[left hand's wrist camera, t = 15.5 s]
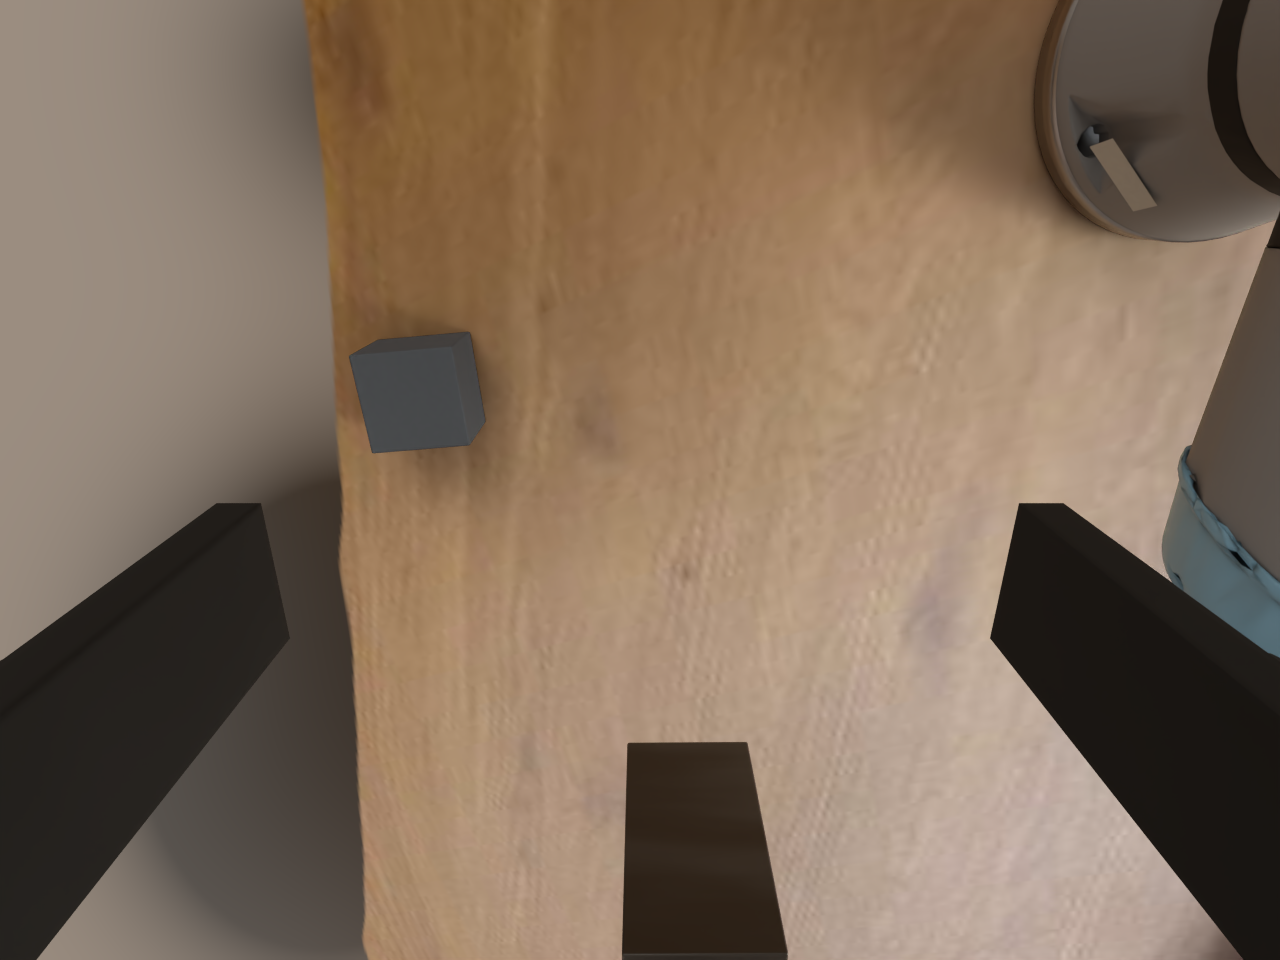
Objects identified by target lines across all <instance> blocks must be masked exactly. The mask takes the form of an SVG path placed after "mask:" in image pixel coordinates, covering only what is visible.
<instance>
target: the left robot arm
mask: <svg viewBox="0 0 1280 960" xmlns="http://www.w3.org/2000/svg"><path fill="white" fill-rule="evenodd" d="M1034 110H1035V124H1036V130H1037V136H1038V142H1039V145H1040V149H1041V153H1042V156H1043V159H1044V161H1045V164H1046V166H1047V169H1048V171H1049V173H1050V175H1051V177H1052V179H1053V181H1054V182H1055V184H1056V186H1057V187H1058V189H1059V190H1060V191H1061V193H1062V194H1063V196H1064V197H1065V198H1066V199H1067V200H1068V201H1069V203H1070V204H1071V205H1072V206H1073V207H1074V208H1075V209H1076V210H1078V211H1079V212H1080V213H1081V214H1082V215H1083V216H1085V217H1086V218H1088V219H1089V220H1091V221H1092V222H1094V223H1095V224H1097V225H1099V226H1101V227H1103V228H1105V229H1107V230H1109V231H1112V232H1114V233H1117V234H1120V235H1124V236H1128V237H1132V238H1138V239H1146V240H1155V241H1166V242H1198V241H1207V240H1212V239H1218V238H1222V237H1226V236H1230V235H1233V234H1237V233H1240V232H1242V231H1245V230H1248V229H1251V228H1254V227H1256V226H1259V225H1262V224H1265V223H1268V222H1271V221H1274V220H1276V223H1275V226H1274V228H1273V231H1272V234H1271V237H1270V239H1269V242H1268V244H1267V247H1266V248H1265V250H1264V253H1263V255H1262V258H1261V261H1260V263H1259V266H1258V269H1257V272H1256V274H1255V277H1254V280H1253V282H1252V285H1251V288H1250V290H1249V293H1248V296H1247V298H1246V301H1245V304H1244V306H1243V309H1242V312H1241V315H1240V317H1239V320H1238V323H1237V325H1236V328H1235V331H1234V333H1233V336H1232V339H1231V341H1230V344H1229V347H1228V349H1227V352H1226V355H1225V358H1224V360H1223V363H1222V366H1221V368H1220V371H1219V374H1218V376H1217V379H1216V382H1215V384H1214V387H1213V390H1212V392H1211V395H1210V398H1209V401H1208V403H1207V406H1206V409H1205V411H1204V414H1203V417H1202V419H1201V422H1200V425H1199V427H1198V430H1197V433H1196V435H1195V438H1194V441H1193V444H1192V445H1190V446H1187V447H1186V448H1185V450H1184V451H1183V453H1182V455H1181V457H1180V460H1179V465H1178V475H1179V483H1178V486H1177V490H1176V493H1175V497H1174V500H1173V503H1172V507H1171V510H1170V514H1169V517H1168V520H1167V524H1166V527H1165V531H1164V534H1163V539H1162V556H1163V562H1164V565H1165V569H1166V572H1167V574H1168V576H1169V578H1170V579H1171V581H1172V582H1170V581H1169V580H1168V579H1166V578H1165V577H1163V576H1162V575H1161V574H1159V573H1158V572H1157V571H1155V570H1154V569H1153V568H1151V567H1150V566H1148V565H1147V564H1146V563H1144V562H1143V561H1142V560H1140V559H1139V558H1137V557H1136V556H1135V555H1133V554H1132V553H1131V552H1129V551H1128V550H1127V549H1125V548H1124V547H1122V546H1121V545H1120V544H1118V543H1117V542H1116V541H1114V540H1113V539H1111V538H1110V537H1109V536H1107V535H1106V534H1105V533H1103V532H1102V531H1101V530H1099V529H1098V528H1096V527H1095V526H1094V525H1092V524H1091V523H1090V522H1088V521H1087V520H1085V519H1084V518H1083V517H1081V516H1080V515H1079V514H1077V513H1076V512H1075V511H1073V510H1072V509H1070V508H1069V507H1068V506H1066V505H1065V504H1064V503H1019V506H1018V511H1017V516H1016V520H1015V525H1014V530H1013V534H1012V539H1011V544H1010V548H1009V553H1008V557H1007V562H1006V567H1005V571H1004V576H1003V581H1002V585H1001V590H1000V595H999V599H998V604H997V609H996V613H995V618H994V623H993V627H992V632H991V637H990V639H991V640H992V641H993V642H994V644H995V645H996V646H997V647H998V649H999V650H1000V651H1001V653H1002V654H1003V655H1004V656H1005V658H1006V659H1007V660H1008V661H1009V663H1010V664H1011V665H1012V666H1013V668H1014V669H1015V670H1016V672H1017V673H1018V674H1019V675H1020V677H1021V678H1022V679H1023V680H1024V682H1025V683H1026V684H1027V686H1028V687H1029V688H1030V689H1031V691H1032V692H1033V693H1034V694H1035V696H1036V697H1037V698H1038V699H1039V701H1040V702H1041V703H1042V705H1043V706H1044V707H1045V708H1046V710H1047V711H1048V712H1049V713H1050V715H1051V716H1052V717H1053V718H1054V720H1055V721H1056V722H1057V724H1058V725H1059V726H1060V727H1061V729H1062V730H1063V731H1064V732H1065V734H1066V735H1067V736H1068V738H1069V739H1070V740H1071V741H1072V743H1073V744H1074V745H1075V746H1076V748H1077V749H1078V750H1079V751H1080V753H1081V754H1082V755H1083V757H1084V758H1085V759H1086V760H1087V762H1088V763H1089V764H1090V765H1091V767H1092V768H1093V769H1094V771H1095V772H1096V773H1097V774H1098V776H1099V777H1100V778H1101V779H1102V781H1103V782H1104V783H1105V784H1106V786H1107V787H1108V788H1109V790H1110V791H1111V792H1112V793H1113V795H1114V796H1115V797H1116V798H1117V800H1118V801H1119V802H1120V803H1121V805H1122V806H1123V807H1124V809H1125V810H1126V811H1127V812H1128V814H1129V815H1130V816H1131V817H1132V819H1133V820H1134V821H1135V823H1136V824H1137V825H1138V826H1139V828H1140V829H1141V830H1142V831H1143V833H1144V834H1145V835H1146V836H1147V838H1148V839H1149V840H1150V842H1151V843H1152V844H1153V845H1154V847H1155V848H1156V849H1157V850H1158V852H1159V853H1160V854H1161V855H1162V857H1163V858H1164V859H1165V861H1166V862H1167V863H1168V864H1169V866H1170V867H1171V868H1172V869H1173V871H1174V872H1175V873H1176V875H1177V876H1178V877H1179V878H1180V880H1181V881H1182V882H1183V883H1184V885H1185V886H1186V887H1187V888H1188V890H1189V891H1190V892H1191V894H1192V895H1193V896H1194V897H1195V899H1196V900H1197V901H1198V902H1199V904H1200V905H1201V906H1202V908H1203V909H1204V910H1205V911H1206V913H1207V914H1208V915H1209V916H1210V918H1211V919H1212V920H1213V921H1214V923H1215V924H1216V925H1217V927H1218V928H1219V929H1220V930H1221V932H1222V933H1223V934H1224V935H1225V937H1226V938H1227V939H1228V940H1229V942H1230V943H1231V944H1232V946H1233V947H1234V948H1235V949H1236V951H1237V952H1238V953H1239V954H1240V956H1241V957H1242V958H1243V960H1280V0H1059V3H1058V5H1057V7H1056V9H1055V11H1054V14H1053V16H1052V18H1051V21H1050V24H1049V27H1048V29H1047V32H1046V35H1045V38H1044V42H1043V46H1042V49H1041V53H1040V58H1039V63H1038V68H1037V74H1036V83H1035V102H1034ZM289 639H290V637H289V632H288V628H287V623H286V618H285V613H284V609H283V604H282V599H281V595H280V590H279V586H278V581H277V576H276V571H275V567H274V562H273V557H272V553H271V548H270V544H269V539H268V534H267V530H266V525H265V520H264V516H263V511H262V506H261V503H217V504H215V505H214V506H212V507H211V508H210V509H208V510H207V511H205V512H204V513H203V514H201V515H200V516H199V517H197V518H196V519H195V520H193V521H192V522H190V523H189V524H188V525H186V526H185V527H184V528H182V529H181V530H179V531H178V532H177V533H175V534H174V535H173V536H171V537H170V538H169V539H167V540H166V541H164V542H163V543H162V544H160V545H159V546H158V547H156V548H155V549H154V550H152V551H151V552H149V553H148V554H147V555H145V556H144V557H143V558H141V559H140V560H138V561H137V562H136V563H134V564H133V565H132V566H130V567H129V568H128V569H126V570H125V571H123V572H122V573H121V574H119V575H118V576H117V577H115V578H114V579H112V580H111V581H110V582H108V583H107V584H106V585H104V586H103V587H102V588H100V589H99V590H97V591H96V592H95V593H93V594H92V595H91V596H89V597H88V598H87V599H85V600H84V601H82V602H81V603H80V604H78V605H77V606H75V607H74V608H73V609H71V610H70V611H69V612H67V613H66V614H65V615H63V616H62V617H60V618H59V619H58V620H56V621H55V622H54V623H52V624H51V625H49V626H48V627H47V628H45V629H44V630H43V631H41V632H40V633H39V634H37V635H36V636H34V637H33V638H32V639H30V640H29V641H28V642H26V643H25V644H23V645H22V646H21V647H19V648H18V649H17V650H15V651H14V652H13V653H11V654H10V655H8V656H7V657H6V658H4V659H3V660H1V661H0V960H37V958H38V957H39V956H40V954H41V953H42V952H43V951H44V949H45V948H46V947H47V946H48V944H49V943H50V942H51V940H52V939H53V938H54V937H55V935H56V934H57V933H58V932H59V930H60V929H61V928H62V927H63V925H64V924H65V923H66V921H67V920H68V919H69V918H70V916H71V915H72V914H73V912H74V911H75V910H76V909H77V907H78V906H79V905H80V904H81V902H82V901H83V900H84V899H85V897H86V896H87V895H88V894H89V892H90V891H91V890H92V888H93V887H94V886H95V885H96V883H97V882H98V881H99V880H100V878H101V877H102V876H103V875H104V873H105V872H106V871H107V869H108V868H109V867H110V866H111V864H112V863H113V862H114V861H115V859H116V858H117V857H118V855H119V854H120V853H121V852H122V850H123V849H124V848H125V847H126V845H127V844H128V843H129V842H130V840H131V839H132V838H133V836H134V835H135V834H136V833H137V831H138V830H139V829H140V828H141V826H142V825H143V824H144V822H145V821H146V820H147V819H148V817H149V816H150V815H151V814H152V812H153V811H154V810H155V809H156V807H157V806H158V805H159V803H160V802H161V801H162V800H163V798H164V797H165V796H166V795H167V793H168V792H169V791H170V790H171V788H172V787H173V786H174V784H175V783H176V782H177V781H178V779H179V778H180V777H181V776H182V774H183V773H184V772H185V770H186V769H187V768H188V767H189V765H190V764H191V763H192V762H193V760H194V759H195V758H196V756H197V755H198V754H199V753H200V751H201V750H202V749H203V748H204V746H205V745H206V744H207V743H208V741H209V740H210V739H211V737H212V736H213V735H214V734H215V732H216V731H217V730H218V729H219V727H220V726H221V725H222V724H223V722H224V721H225V720H226V718H227V717H228V716H229V715H230V713H231V712H232V711H233V710H234V708H235V707H236V706H237V704H238V703H239V702H240V701H241V699H242V698H243V697H244V696H245V694H246V693H247V692H248V691H249V689H250V688H251V687H252V685H253V684H254V683H255V682H256V680H257V679H258V678H259V677H260V675H261V674H262V673H263V672H264V670H265V669H266V668H267V666H268V665H269V664H270V663H271V661H272V660H273V659H274V658H275V656H276V655H277V654H278V653H279V651H280V650H281V649H282V647H283V646H284V645H285V644H286V642H287V641H288V640H289Z"/></svg>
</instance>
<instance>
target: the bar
mask: <svg viewBox="0 0 1280 960" xmlns="http://www.w3.org/2000/svg"><path fill="white" fill-rule="evenodd" d="M622 960H788V950H787V945H786V940H785V935H784V930H783V925H782V919H781V914H780V909H779V904H778V899H777V893H776V888H775V883H774V878H773V873H772V868H771V862H770V857H769V852H768V847H767V842H766V836H765V831H764V826H763V821H762V816H761V811H760V805H759V800H758V795H757V790H756V785H755V780H754V774H753V769H752V764H751V759H750V754H749V748H748V744H747V742H683V743H628V744H627V781H626V819H625V858H624V896H623V935H622Z"/></svg>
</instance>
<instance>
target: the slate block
mask: <svg viewBox="0 0 1280 960" xmlns="http://www.w3.org/2000/svg"><path fill="white" fill-rule="evenodd" d="M349 359H350V363H351V367H352V371H353V375H354V379H355V384H356V388H357V392H358V396H359V400H360V404H361V409H362V413H363V417H364V421H365V425H366V429H367V434H368V438H369V442H370V446H371V450H372V453H383V452H395V451H407V450H419V449H431V448H443V447H455V446H467V445H470V444H471V442H472V441H473V439H474V438H475V436H476V435H477V433H478V432H479V430H480V429H481V427H482V426H483V425H484V423H485V416H484V410H483V405H482V399H481V393H480V387H479V382H478V376H477V370H476V365H475V359H474V353H473V347H472V342H471V336H470V333H469V332H461V333H450V334H438V335H427V336H416V337H404V338H393V339H382V340H377V341H375V342H373V343H371V344H369V345H368V346H366V347H364V348H362V349H360V350H359V351H357V352H355V353H353V354H351V355H350V356H349Z"/></svg>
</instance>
